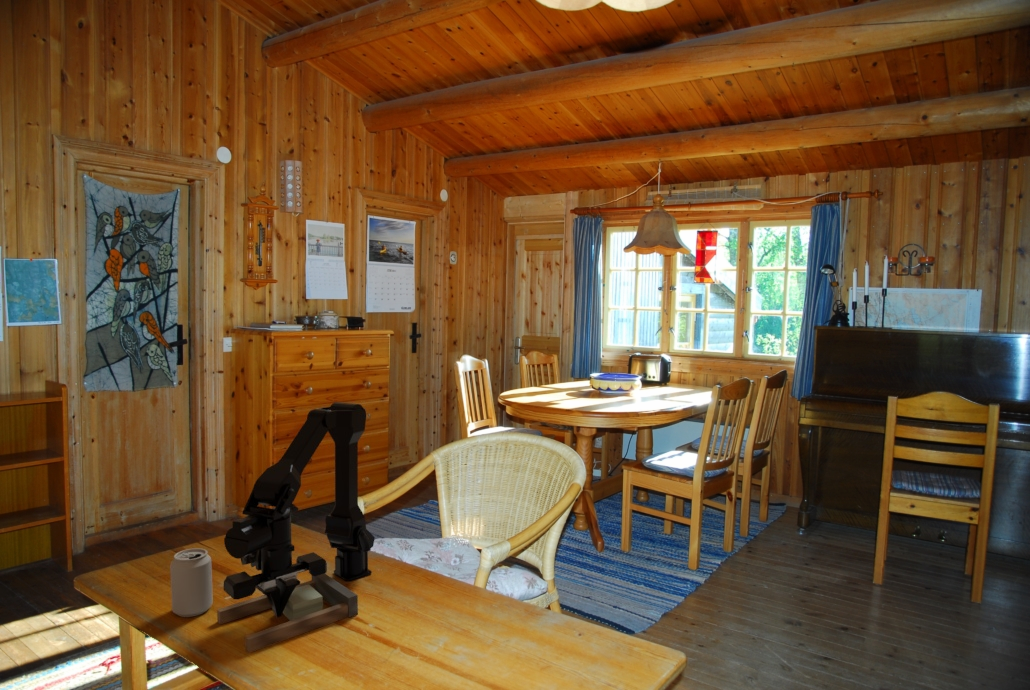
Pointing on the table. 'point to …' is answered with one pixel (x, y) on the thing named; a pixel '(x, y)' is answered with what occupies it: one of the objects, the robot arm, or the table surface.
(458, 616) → the table surface
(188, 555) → the can
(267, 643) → the bay
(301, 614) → the block
